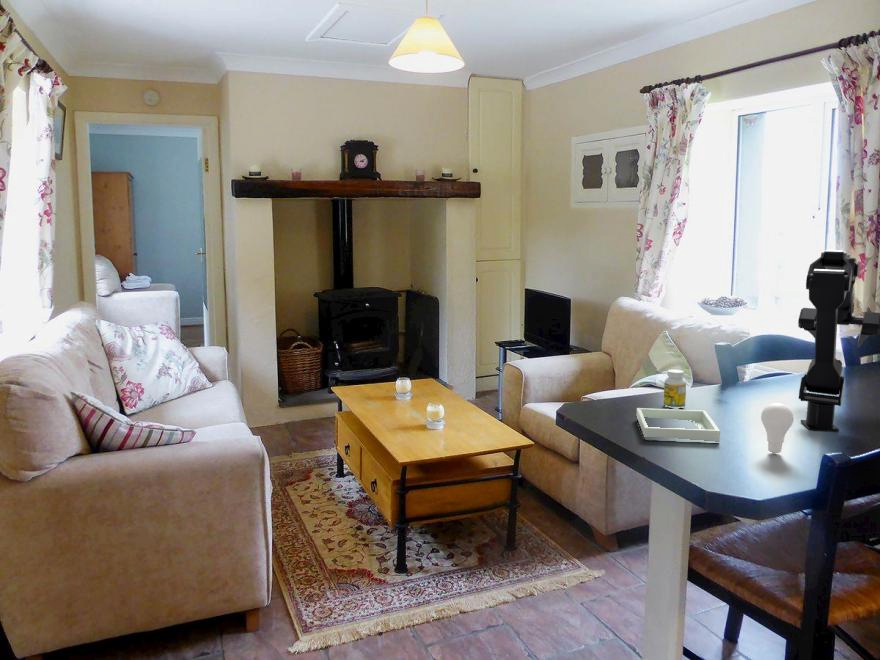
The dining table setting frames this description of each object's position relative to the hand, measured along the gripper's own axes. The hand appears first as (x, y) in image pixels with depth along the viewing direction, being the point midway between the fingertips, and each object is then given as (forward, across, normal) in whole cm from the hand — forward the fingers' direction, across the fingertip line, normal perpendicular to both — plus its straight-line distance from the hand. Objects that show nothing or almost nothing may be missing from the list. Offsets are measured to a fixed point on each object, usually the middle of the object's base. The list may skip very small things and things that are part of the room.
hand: (838, 344), depth 191 cm
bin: (-16, +27, +52) cm, 61 cm away
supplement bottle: (-5, +34, +35) cm, 49 cm away
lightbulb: (-18, +6, +56) cm, 59 cm away
